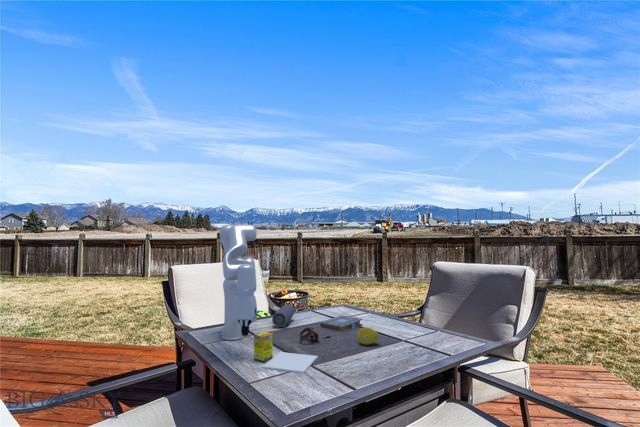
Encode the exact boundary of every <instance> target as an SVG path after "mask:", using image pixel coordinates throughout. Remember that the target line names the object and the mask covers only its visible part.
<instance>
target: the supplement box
mask: <svg viewBox="0 0 640 427" xmlns="http://www.w3.org/2000/svg"><path fill="white" fill-rule="evenodd" d="M273 336H274V335H273V332H267V331H262V332H259V333H254V335H253V360H254V361H257V362H260V363H266V362H268V361H270V360H271V359H272V358H273V352H274V351H273V350H274V349H273V347H274V346H273V341H274V340H273V339H274V338H273Z"/></svg>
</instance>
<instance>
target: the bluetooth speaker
mask: <svg viewBox="0 0 640 427" xmlns="http://www.w3.org/2000/svg"><path fill="white" fill-rule="evenodd" d="M294 314H295V309H294V307H293V305H291V304H284V305H283V306H281V307H280V308H279V309H277V311H276V312H275V313H274V314H273V316H272V318H271V321H272V324H273V325H274V327H276V328H283V327H285V326H286V325H287V324H288V323H289V322H290V321H291V320H292V318H293V317H294Z"/></svg>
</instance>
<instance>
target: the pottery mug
mask: <svg viewBox="0 0 640 427" xmlns="http://www.w3.org/2000/svg"><path fill="white" fill-rule="evenodd" d="M306 332H307V333H306ZM304 333H306V334H304ZM298 336H299V341H300V342H303V341H309V340H310V339H312V338H313V339H314V340H316V341H317V343H318V344H319V343H320V342H321V341H320V336H319V334H318V332H317V330H315V329H314V327H313V326H307V327H305V328H303V329H302V330H301V331H300V332H299V334H298Z"/></svg>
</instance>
